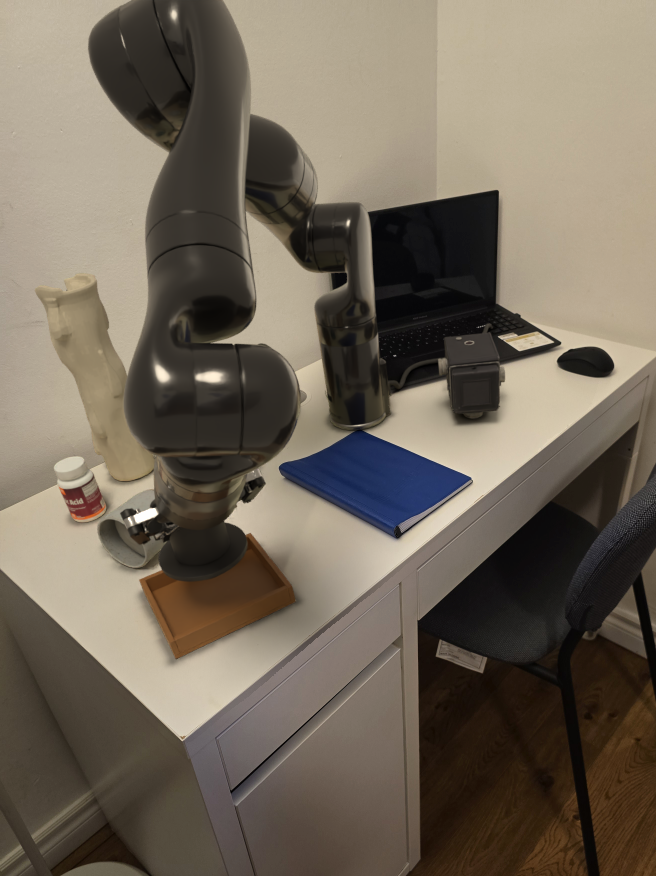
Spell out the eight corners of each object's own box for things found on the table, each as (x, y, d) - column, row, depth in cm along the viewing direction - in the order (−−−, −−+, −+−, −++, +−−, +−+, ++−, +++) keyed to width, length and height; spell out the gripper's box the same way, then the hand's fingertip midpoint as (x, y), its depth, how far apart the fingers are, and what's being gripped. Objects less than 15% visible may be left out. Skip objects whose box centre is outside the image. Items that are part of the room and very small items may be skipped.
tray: (254, 547, 83) (250, 532, 82) (296, 601, 75) (292, 585, 73) (145, 595, 78) (138, 579, 77) (175, 659, 69) (169, 643, 68)
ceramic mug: (193, 534, 87) (177, 486, 83) (154, 573, 81) (134, 524, 77) (131, 522, 91) (112, 475, 87) (89, 559, 85) (67, 511, 81)
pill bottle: (65, 520, 93) (42, 471, 88) (88, 501, 96) (67, 452, 91) (92, 525, 91) (70, 475, 86) (114, 505, 95) (94, 456, 90)
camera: (436, 398, 115) (444, 432, 102) (432, 334, 109) (440, 361, 96) (497, 392, 114) (513, 426, 101) (496, 327, 109) (513, 354, 96)
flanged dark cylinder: (232, 525, 78) (214, 461, 73) (263, 567, 71) (246, 499, 66) (153, 557, 75) (128, 492, 70) (178, 605, 68) (153, 536, 63)
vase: (119, 492, 97) (40, 291, 80) (93, 473, 103) (15, 281, 85) (169, 466, 102) (105, 271, 85) (142, 450, 107) (77, 263, 90)
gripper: (258, 411, 59) (238, 468, 75) (98, 466, 54) (112, 515, 69) (293, 485, 59) (265, 527, 74) (134, 549, 53) (140, 579, 69)
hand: (191, 521), depth 72 cm, fingers closed on flanged dark cylinder, 6 cm apart
